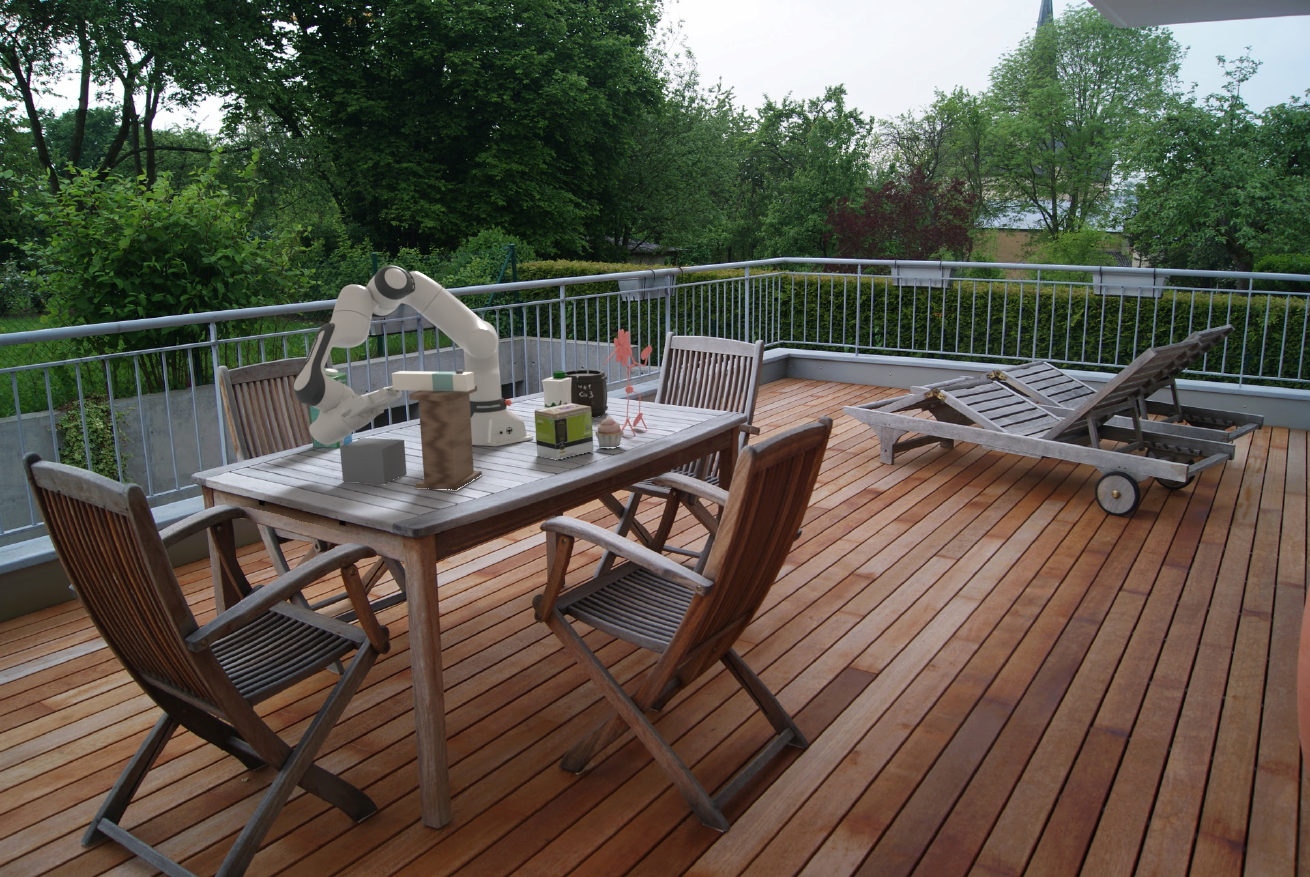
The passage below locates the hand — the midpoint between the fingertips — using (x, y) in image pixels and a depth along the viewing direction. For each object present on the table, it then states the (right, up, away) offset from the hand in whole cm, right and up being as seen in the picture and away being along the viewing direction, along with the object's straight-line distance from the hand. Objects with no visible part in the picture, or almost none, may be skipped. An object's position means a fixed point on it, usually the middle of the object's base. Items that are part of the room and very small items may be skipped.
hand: (395, 386), depth 260 cm
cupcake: (+57, -17, +41) cm, 72 cm away
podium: (-8, -25, +8) cm, 28 cm away
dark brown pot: (+45, -5, +94) cm, 104 cm away
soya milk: (+38, -12, +67) cm, 78 cm away
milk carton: (-34, -16, +50) cm, 63 cm away
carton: (+11, -1, -3) cm, 12 cm away
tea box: (+44, -19, +33) cm, 58 cm away
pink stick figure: (+61, -12, +64) cm, 89 cm away
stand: (+14, -26, +2) cm, 30 cm away
